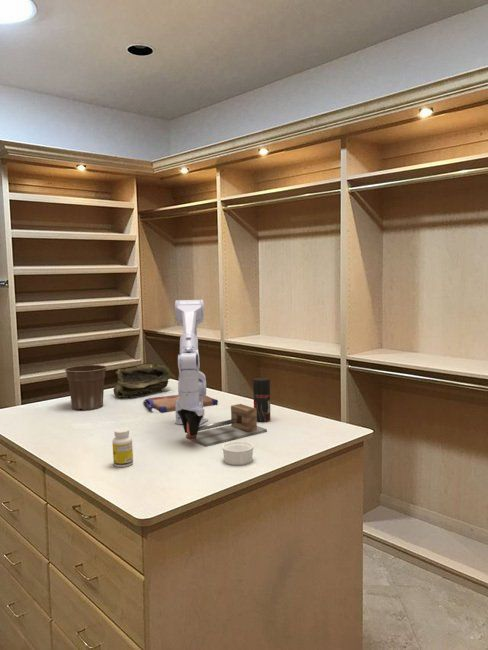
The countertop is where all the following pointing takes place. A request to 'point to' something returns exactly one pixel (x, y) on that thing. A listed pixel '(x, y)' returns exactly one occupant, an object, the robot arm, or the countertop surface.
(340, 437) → the countertop surface
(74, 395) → the plant pot
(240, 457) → the ramekin
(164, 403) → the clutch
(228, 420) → the copper head mallet
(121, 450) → the supplement bottle
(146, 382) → the hollow geode rock
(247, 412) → the eye block
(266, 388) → the deodorant
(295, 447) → the countertop surface
